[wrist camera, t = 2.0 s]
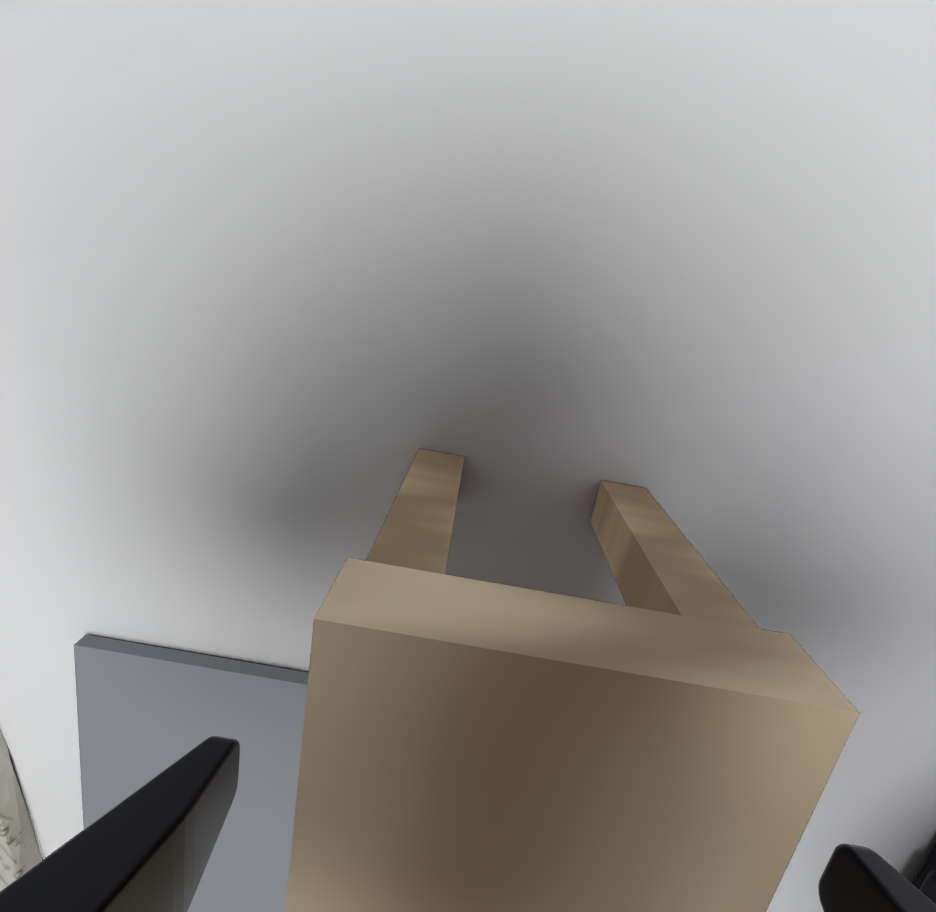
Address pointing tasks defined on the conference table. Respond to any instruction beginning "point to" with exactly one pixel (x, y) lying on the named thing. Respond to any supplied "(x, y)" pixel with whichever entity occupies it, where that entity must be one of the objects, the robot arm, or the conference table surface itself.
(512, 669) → the stool
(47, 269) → the conference table surface
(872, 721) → the conference table surface
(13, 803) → the packaged product
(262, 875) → the mat
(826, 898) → the robot arm
